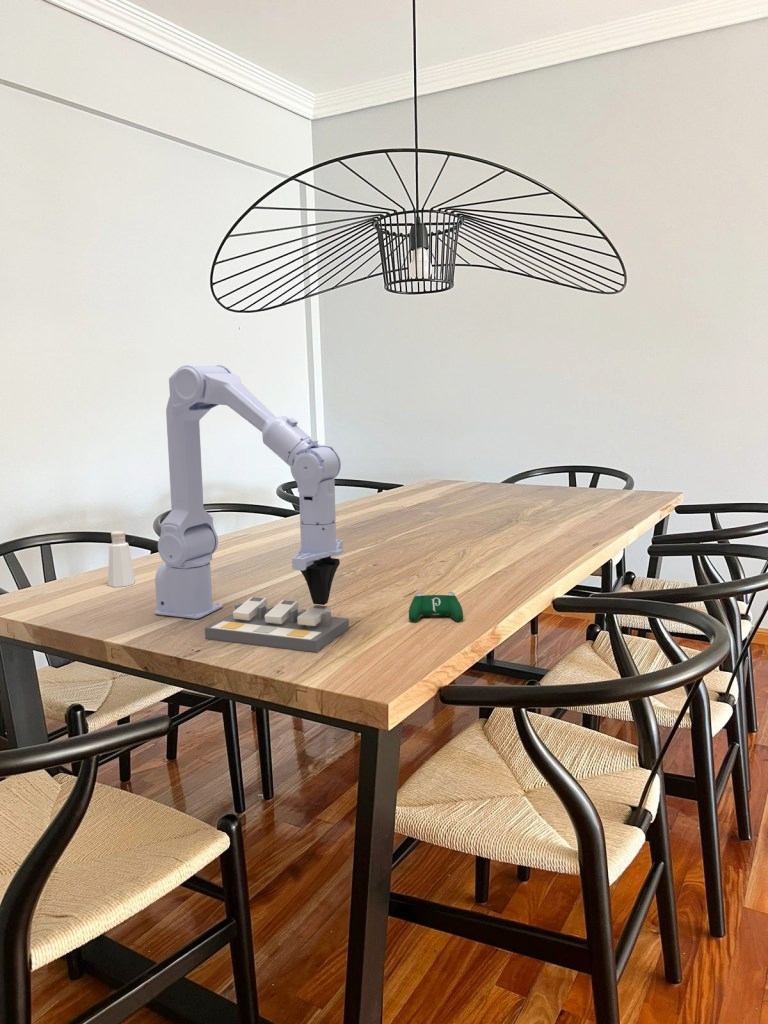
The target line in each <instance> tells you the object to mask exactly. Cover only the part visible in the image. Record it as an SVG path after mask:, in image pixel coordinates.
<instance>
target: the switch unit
mask: <svg viewBox="0 0 768 1024" xmlns="http://www.w3.org/2000/svg"><path fill="white" fill-rule="evenodd" d="M243 603H244V602H239V603H236V604H234V611H235V610H236V609H237V608H238V607H240V606H241V605H242V604H243ZM274 607H275V606H273V605H272V606H271V605H270V606H268V607H267V606H265V605H262V606H260V607H258V608H257V611H258V613H257V614H256V615H255V616H254V617H253V618H252V619H251V620H240V619H234V617H233V613H231V614H229V615H226V616H225V617H224V618H222V619H220V620H217V621H216V622H214V623H212V624H210V625H208V626H206V627H204V637H205V639H206V640H214V641H222V642H228V643H229V642H230V643H237V644H244V645H245V644H246V645H255V646H261V647H269V648H277V649H278V648H279V649H284V650H285V649H287V650H293V651H301V652H308V653H309V652H310V653H318V652H319V651H320V650H322V649H323V648H325V647H326V646H327V645H329V644H330V643H332V642H333V641H335V640H336V639H337V638H338V637H340V636H341V635H343V634H344V633H345V632H347V631H348V630H349V629H350V619H349V618H347V617H337V616H332V611H331V612H326V613H324V614H323V615H322V616H323V620H322V621H320V622H319V623H318V624H317V625H315V626H310V625H301V624H298V620H297V617H298V616H299V615H301V614H302V613H304V612H305V611H306V610H307V609H304V608H303V609H300V610H299V608H298V609H292V610H290V611H289V615H290V617H289V618H288V619H287V620H285V621H284V622H283V623H282V624H276V623H267V622H265V615H266V614H267V613H268V612H269V611H270V610H271V609H272V608H274Z"/></svg>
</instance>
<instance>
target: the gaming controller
mask: <svg viewBox="0 0 768 1024" xmlns="http://www.w3.org/2000/svg"><path fill="white" fill-rule="evenodd" d="M463 611H464V610H463V608H462V605H461V603H460V601H459V600H458V598H457V596H456V594H455V593H454V592H453V591H452V590H449V591H448V592H447V594H427V595H425V594H424V595H423V593H422V592H421V591H417V592H416V593H415V595H414V596H413V599H412V601H411V602H410V606H409V609H408V620H409V622H410V623H417V622H418V621H419V620H420V619H421V617H422V616H424V617H426V618H428V617H430V616H441V617H447V616H450V617H451V618H452V620H453V621H454V622H457V623H460V621H461V622H462V621H463V620H464V613H463Z"/></svg>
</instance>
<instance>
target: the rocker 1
mask: <svg viewBox="0 0 768 1024" xmlns="http://www.w3.org/2000/svg"><path fill="white" fill-rule="evenodd" d="M242 603H243V604H242V605H241V606H240V607H238V608H237V609H236V610H235V609H234V610H233V611H232V614H233V617H234V619H240V620H251V619H252V618H253V617H254V616H255V615H256V614H257V613H258V611H257V608H258V607H260V606H262V605H265V606H266V607H267V606H268V598H267V597H257V596H251V597H249V598H248V599H247V600H245V601H244V602H242Z"/></svg>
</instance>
